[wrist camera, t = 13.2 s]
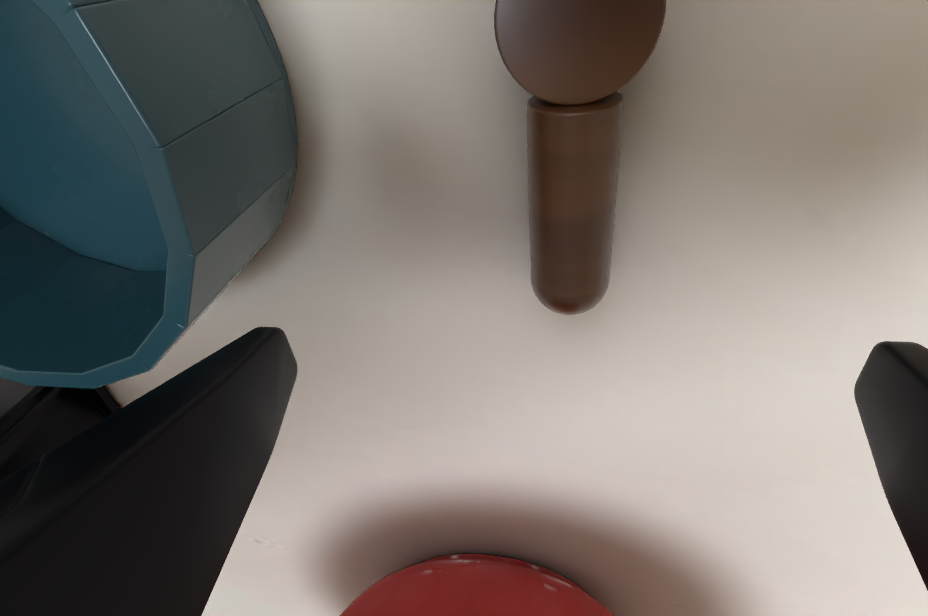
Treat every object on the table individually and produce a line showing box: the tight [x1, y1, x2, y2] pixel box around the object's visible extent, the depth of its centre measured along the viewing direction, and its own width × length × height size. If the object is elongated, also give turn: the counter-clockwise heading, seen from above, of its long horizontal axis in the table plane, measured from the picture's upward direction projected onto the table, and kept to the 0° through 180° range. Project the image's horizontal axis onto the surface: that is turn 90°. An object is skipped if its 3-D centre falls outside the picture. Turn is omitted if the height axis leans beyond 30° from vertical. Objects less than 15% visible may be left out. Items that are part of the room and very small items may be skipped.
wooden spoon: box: [494, 0, 666, 315], centre depth 15 cm, size 11×4×3 cm, turn 6°
